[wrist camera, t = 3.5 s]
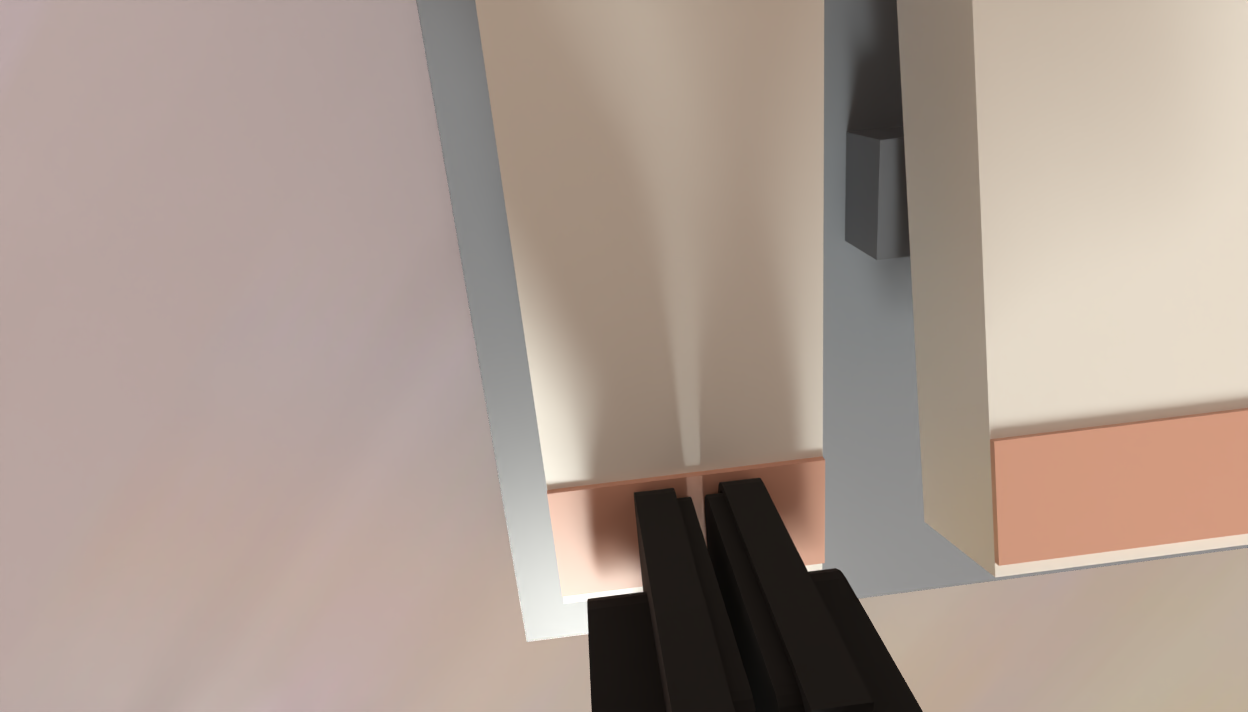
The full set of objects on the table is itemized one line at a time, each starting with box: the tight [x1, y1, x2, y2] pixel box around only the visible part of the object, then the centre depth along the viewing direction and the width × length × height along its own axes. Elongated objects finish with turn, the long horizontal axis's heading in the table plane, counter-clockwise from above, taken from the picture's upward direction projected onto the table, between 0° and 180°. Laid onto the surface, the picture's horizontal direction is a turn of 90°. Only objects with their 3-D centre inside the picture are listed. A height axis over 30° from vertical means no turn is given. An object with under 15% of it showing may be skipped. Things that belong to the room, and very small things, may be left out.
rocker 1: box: [475, 0, 825, 604], centre depth 10 cm, size 9×4×2 cm, turn 5°
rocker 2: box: [897, 0, 1248, 578], centre depth 10 cm, size 9×4×2 cm, turn 5°
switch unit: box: [416, 0, 1248, 642], centre depth 14 cm, size 17×17×5 cm
